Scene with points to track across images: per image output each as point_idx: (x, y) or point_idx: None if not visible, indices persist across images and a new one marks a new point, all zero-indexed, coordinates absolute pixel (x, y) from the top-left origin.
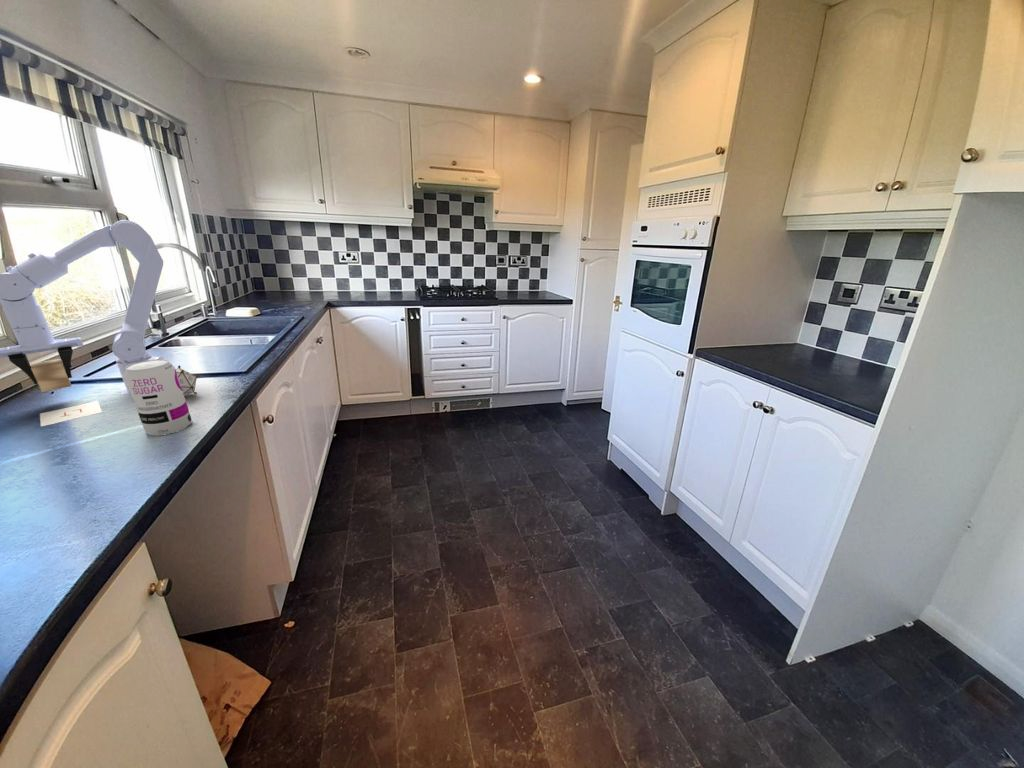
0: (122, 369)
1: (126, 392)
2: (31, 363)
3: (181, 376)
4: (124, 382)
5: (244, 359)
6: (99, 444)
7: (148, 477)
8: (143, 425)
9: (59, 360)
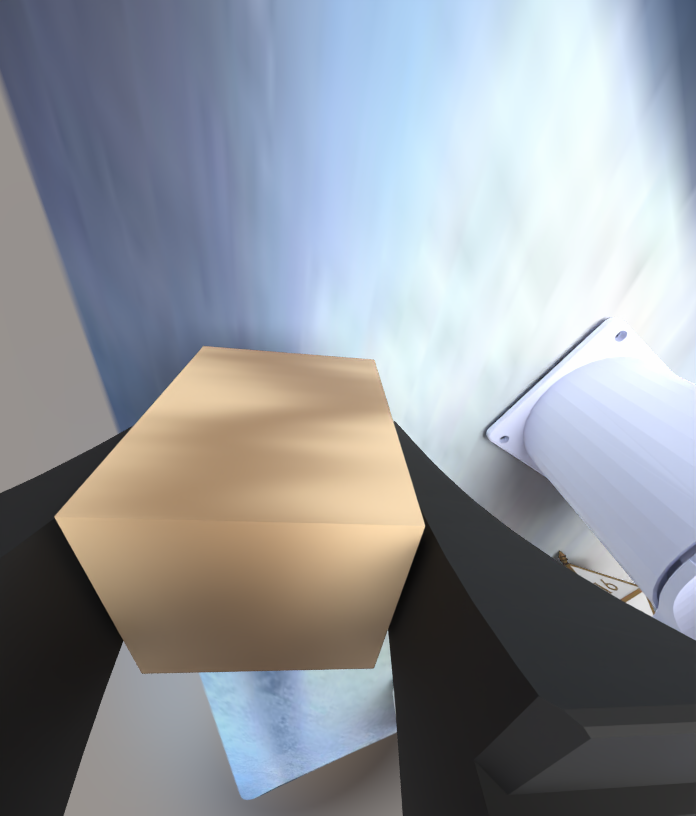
0: (612, 549)
1: (515, 432)
2: (66, 521)
3: None
4: (554, 457)
5: None
6: (326, 671)
7: (346, 743)
8: (395, 714)
9: (388, 590)
